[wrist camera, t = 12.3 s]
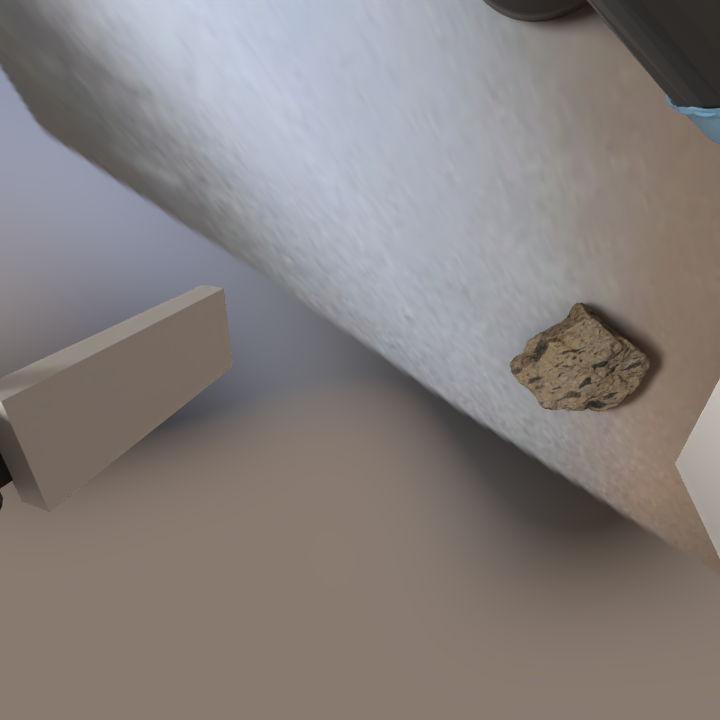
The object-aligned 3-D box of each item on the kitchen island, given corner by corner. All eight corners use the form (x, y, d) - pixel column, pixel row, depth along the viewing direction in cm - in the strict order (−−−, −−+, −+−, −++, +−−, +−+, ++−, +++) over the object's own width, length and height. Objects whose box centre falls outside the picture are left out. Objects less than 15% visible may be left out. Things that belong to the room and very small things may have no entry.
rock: (572, 420, 51) (576, 442, 47) (502, 355, 50) (500, 372, 46) (662, 365, 45) (674, 385, 41) (583, 290, 44) (589, 304, 40)
